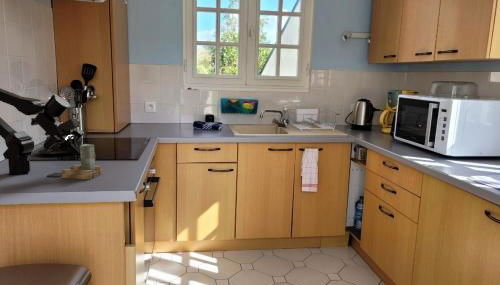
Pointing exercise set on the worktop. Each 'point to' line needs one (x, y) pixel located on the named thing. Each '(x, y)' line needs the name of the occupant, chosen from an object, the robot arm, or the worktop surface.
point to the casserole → (55, 148)
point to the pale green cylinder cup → (88, 159)
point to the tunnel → (78, 172)
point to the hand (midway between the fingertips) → (80, 155)
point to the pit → (55, 175)
